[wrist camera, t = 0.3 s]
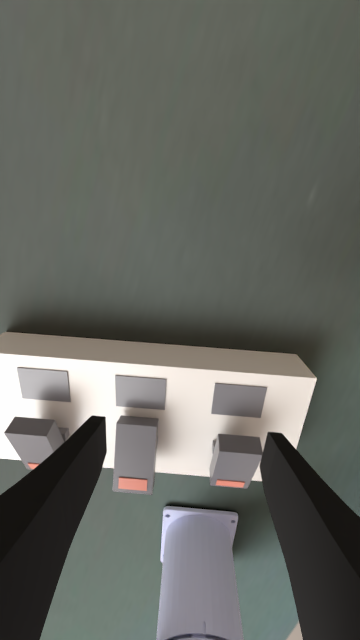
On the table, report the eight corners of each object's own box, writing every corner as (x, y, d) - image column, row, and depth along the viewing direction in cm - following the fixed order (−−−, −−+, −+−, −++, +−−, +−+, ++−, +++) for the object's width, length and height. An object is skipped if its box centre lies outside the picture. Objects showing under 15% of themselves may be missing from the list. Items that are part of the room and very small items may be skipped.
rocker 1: (70, 456, 20) (62, 473, 19) (35, 453, 20) (26, 470, 19) (54, 419, 17) (45, 437, 16) (15, 416, 17) (3, 434, 16)
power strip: (272, 447, 23) (288, 490, 20) (-17, 423, 24) (-57, 460, 20) (296, 354, 20) (321, 383, 16) (-42, 328, 21) (-96, 350, 17)
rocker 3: (244, 471, 20) (247, 489, 19) (209, 468, 20) (210, 486, 19) (259, 437, 17) (263, 456, 16) (218, 433, 17) (219, 452, 16)
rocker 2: (154, 482, 19) (152, 495, 17) (117, 478, 19) (112, 491, 17) (158, 418, 18) (156, 427, 17) (120, 415, 18) (115, 424, 17)
